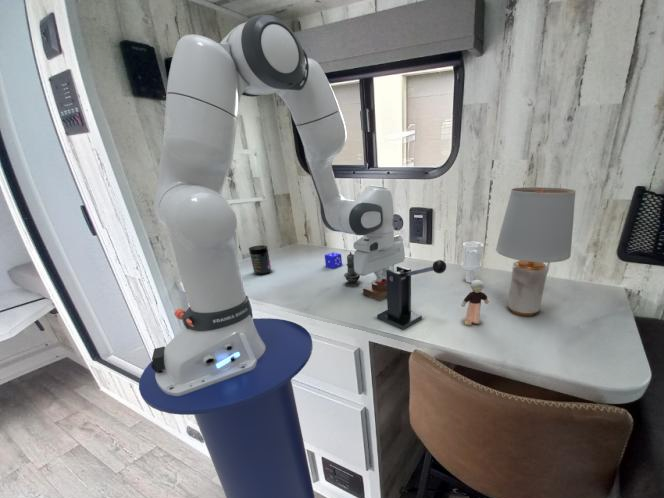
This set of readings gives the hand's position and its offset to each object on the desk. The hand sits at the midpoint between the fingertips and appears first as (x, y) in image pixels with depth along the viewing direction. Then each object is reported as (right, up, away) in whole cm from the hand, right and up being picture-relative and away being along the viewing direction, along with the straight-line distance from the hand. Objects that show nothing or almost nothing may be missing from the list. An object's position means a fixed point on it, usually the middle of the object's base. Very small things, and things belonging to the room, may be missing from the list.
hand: (381, 280), depth 103 cm
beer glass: (+1, +2, +15) cm, 16 cm away
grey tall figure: (-11, -1, +10) cm, 15 cm away
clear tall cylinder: (+32, 0, +11) cm, 34 cm away
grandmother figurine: (+27, -13, -17) cm, 34 cm away
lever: (+11, -1, -26) cm, 28 cm away
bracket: (+6, -12, -15) cm, 20 cm away
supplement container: (-49, +4, +22) cm, 54 cm away
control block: (0, -4, +2) cm, 4 cm away
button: (0, -2, +1) cm, 2 cm away
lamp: (+42, -10, -11) cm, 45 cm away
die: (-22, +8, +29) cm, 37 cm away
